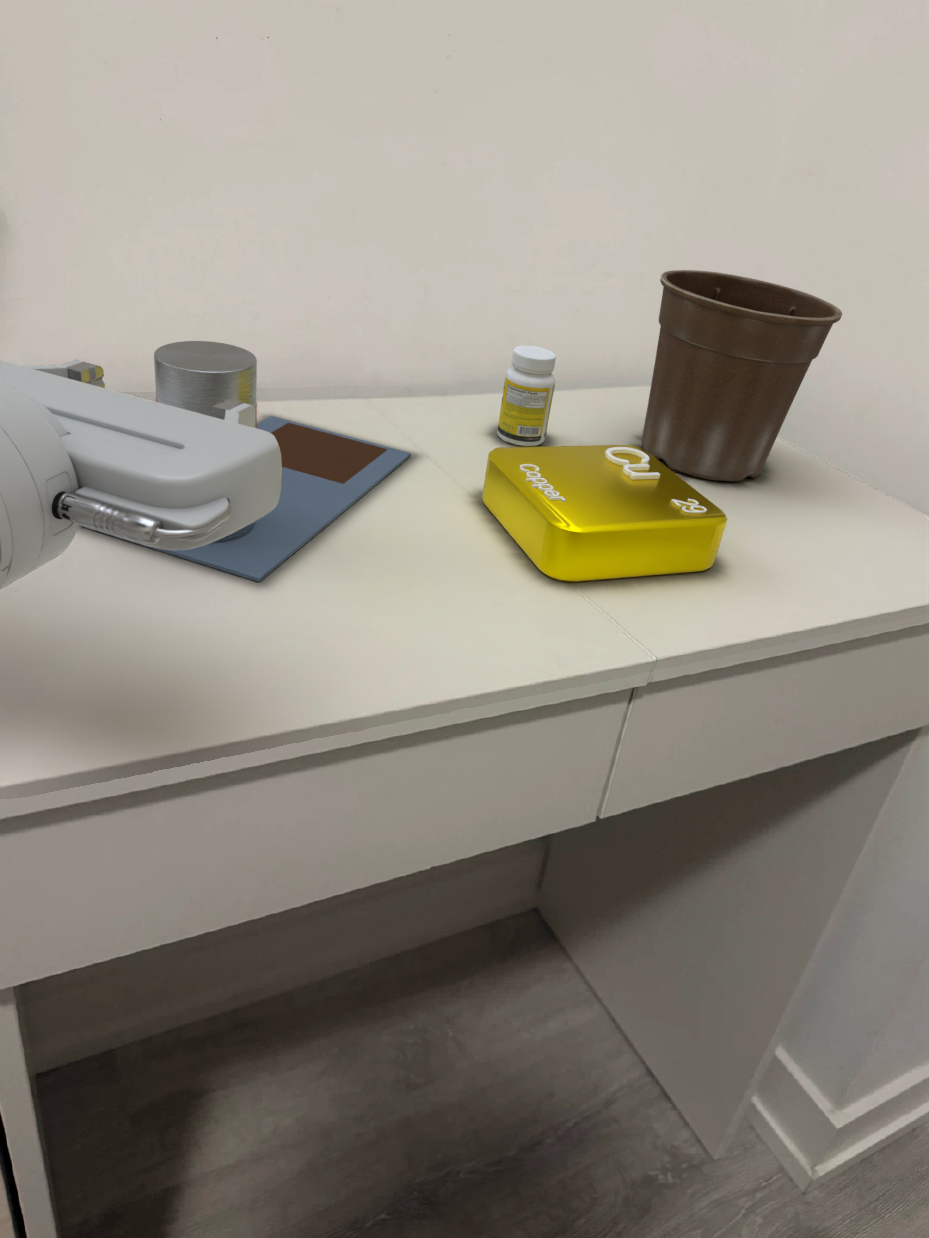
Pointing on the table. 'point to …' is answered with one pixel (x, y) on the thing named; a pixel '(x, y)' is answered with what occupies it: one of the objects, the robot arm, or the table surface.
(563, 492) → the element tile
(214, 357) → the tin can
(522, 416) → the supplement bottle
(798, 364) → the plant pot
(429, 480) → the table surface
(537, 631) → the table surface
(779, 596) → the table surface
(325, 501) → the rubber mat
